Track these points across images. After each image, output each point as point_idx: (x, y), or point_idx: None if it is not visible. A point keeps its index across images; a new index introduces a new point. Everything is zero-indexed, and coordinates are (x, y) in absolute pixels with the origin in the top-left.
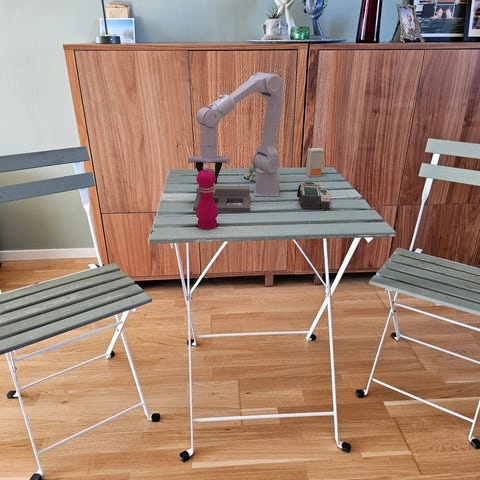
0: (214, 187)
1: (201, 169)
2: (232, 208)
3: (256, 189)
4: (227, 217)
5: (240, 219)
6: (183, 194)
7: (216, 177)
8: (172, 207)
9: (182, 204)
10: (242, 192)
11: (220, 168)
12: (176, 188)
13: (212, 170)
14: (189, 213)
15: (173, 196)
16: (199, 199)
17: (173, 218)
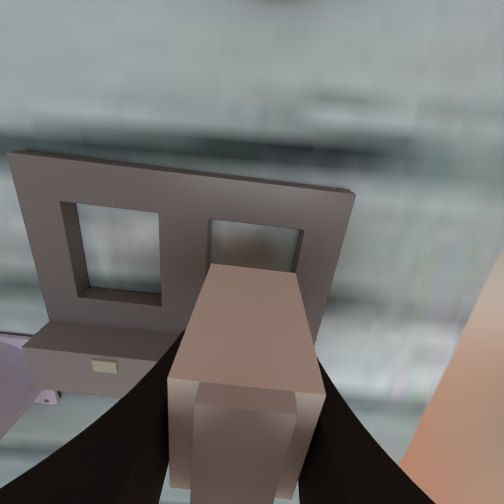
0: (204, 283)
1: (361, 496)
2: (117, 164)
3: (23, 377)
4: (148, 64)
5: (59, 16)
6: (362, 384)
7: (161, 370)
8: (449, 249)
9: (389, 282)
10: (74, 338)
11: (6, 489)
12: (379, 435)
13: (193, 483)
14: (375, 155)
15: (410, 369)
16: (304, 301)
17: (492, 76)
